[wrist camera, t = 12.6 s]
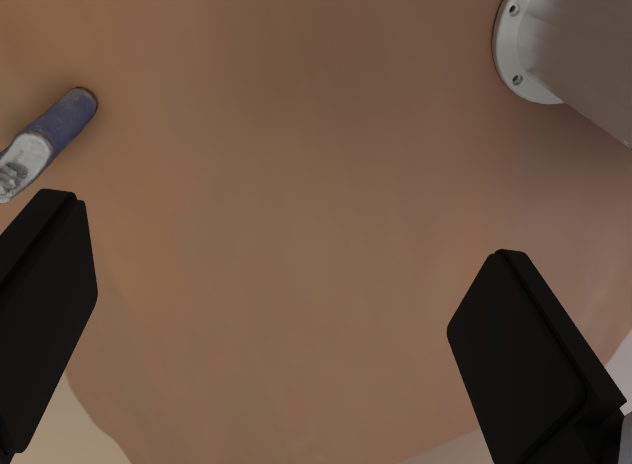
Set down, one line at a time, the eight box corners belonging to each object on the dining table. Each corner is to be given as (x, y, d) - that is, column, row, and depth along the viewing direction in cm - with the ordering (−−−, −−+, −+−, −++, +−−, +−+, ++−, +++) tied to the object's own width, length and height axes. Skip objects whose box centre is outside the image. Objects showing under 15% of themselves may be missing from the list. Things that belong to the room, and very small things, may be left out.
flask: (80, 79, 34) (12, 137, 26) (109, 108, 36) (55, 172, 28) (11, 141, 37) (-70, 211, 29) (41, 165, 39) (-27, 238, 30)
